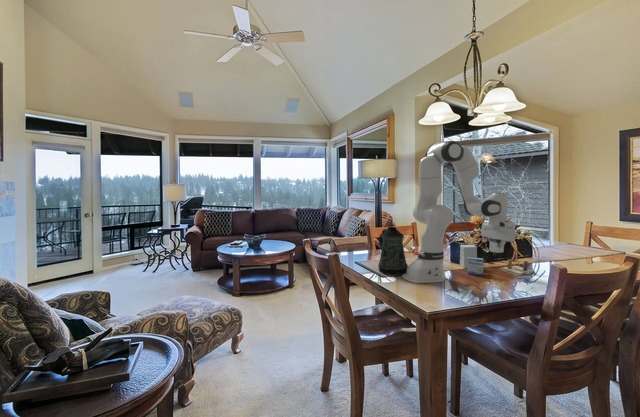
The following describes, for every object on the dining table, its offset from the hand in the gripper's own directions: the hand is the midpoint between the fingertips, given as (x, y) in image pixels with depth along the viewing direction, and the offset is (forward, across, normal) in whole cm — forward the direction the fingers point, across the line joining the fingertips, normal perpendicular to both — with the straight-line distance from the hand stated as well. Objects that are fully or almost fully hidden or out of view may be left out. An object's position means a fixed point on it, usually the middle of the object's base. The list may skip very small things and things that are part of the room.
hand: (496, 247), depth 181 cm
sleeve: (+2, 0, 0) cm, 2 cm away
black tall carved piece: (+16, -23, -52) cm, 60 cm away
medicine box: (+15, -1, -13) cm, 20 cm away
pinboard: (+14, +4, +11) cm, 18 cm away
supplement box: (+14, -14, -6) cm, 21 cm away
